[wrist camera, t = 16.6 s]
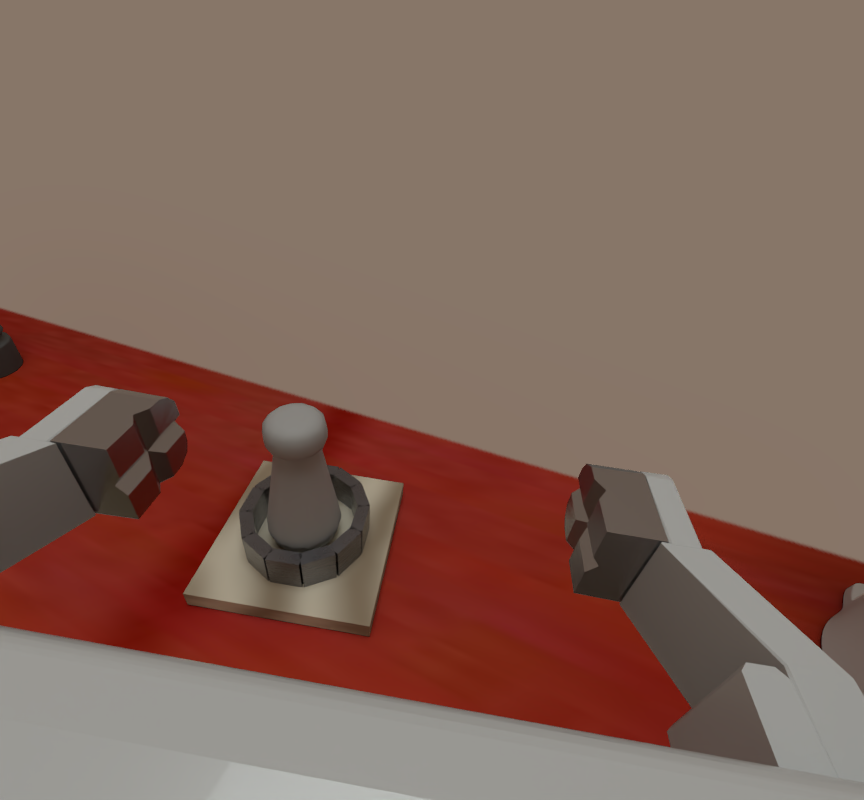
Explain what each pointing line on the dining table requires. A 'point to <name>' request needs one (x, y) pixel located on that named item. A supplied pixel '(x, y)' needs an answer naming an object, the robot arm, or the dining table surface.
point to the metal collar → (314, 562)
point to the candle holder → (8, 355)
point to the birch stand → (313, 605)
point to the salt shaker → (299, 479)
